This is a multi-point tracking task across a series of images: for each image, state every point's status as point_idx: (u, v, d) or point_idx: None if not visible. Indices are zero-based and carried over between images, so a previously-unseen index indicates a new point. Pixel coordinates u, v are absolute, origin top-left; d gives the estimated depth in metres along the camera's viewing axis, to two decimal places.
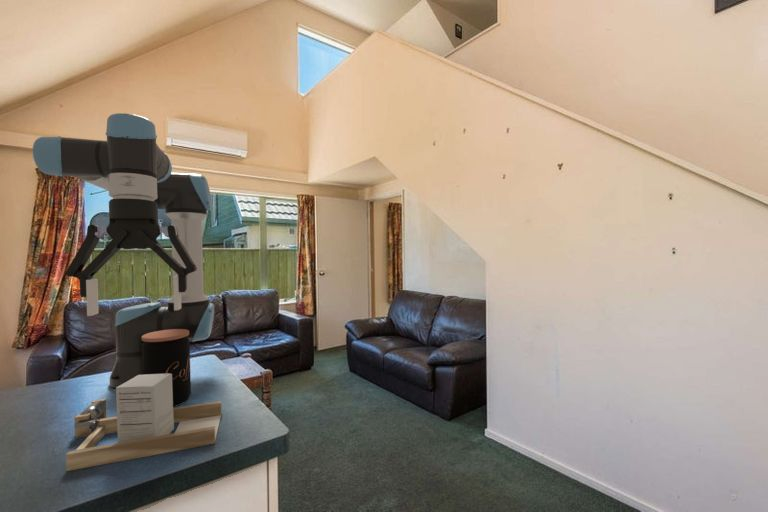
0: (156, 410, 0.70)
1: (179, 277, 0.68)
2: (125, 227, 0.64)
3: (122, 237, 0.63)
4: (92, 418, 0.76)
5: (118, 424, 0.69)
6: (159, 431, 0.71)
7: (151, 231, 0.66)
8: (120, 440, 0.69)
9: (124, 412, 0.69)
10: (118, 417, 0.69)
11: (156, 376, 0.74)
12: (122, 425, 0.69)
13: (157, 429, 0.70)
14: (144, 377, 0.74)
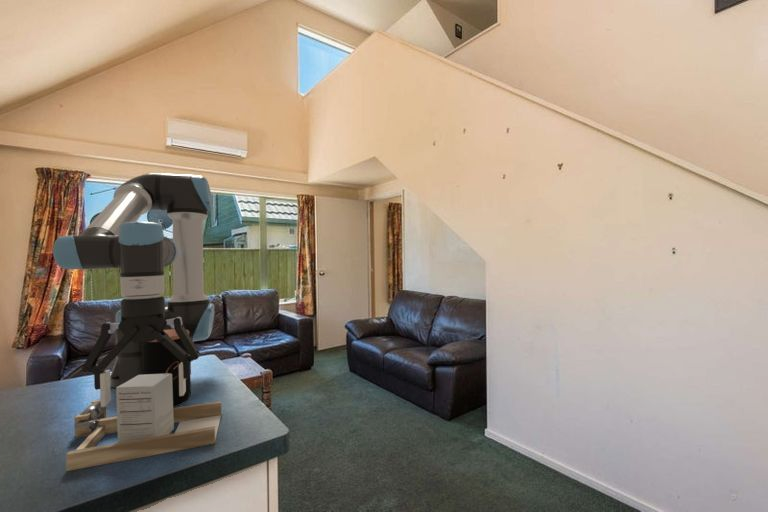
0: (156, 410, 0.70)
1: (184, 365, 0.74)
2: (135, 323, 0.71)
3: (132, 333, 0.70)
4: (92, 418, 0.76)
5: (118, 424, 0.69)
6: (160, 431, 0.71)
7: (159, 325, 0.72)
8: (120, 440, 0.69)
9: (124, 411, 0.69)
10: (118, 417, 0.69)
11: (156, 376, 0.74)
12: (122, 425, 0.69)
13: (157, 429, 0.70)
14: (144, 377, 0.74)
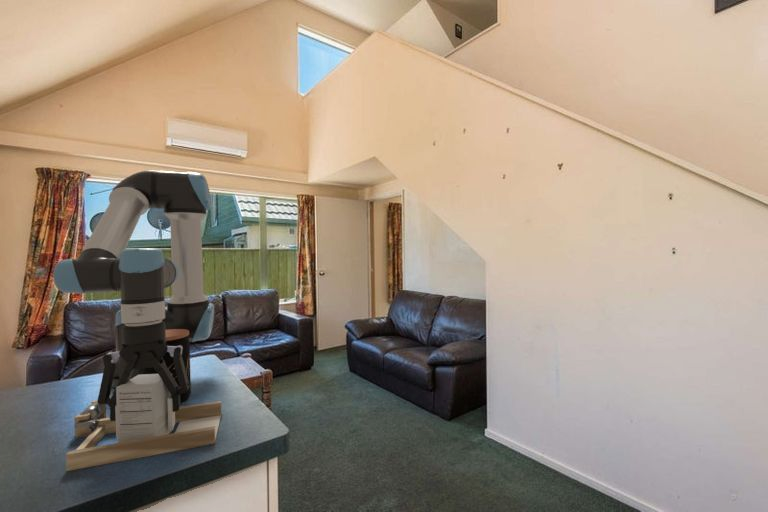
0: (156, 410, 0.70)
1: None
2: (135, 347, 0.71)
3: (135, 360, 0.70)
4: (92, 418, 0.76)
5: (118, 424, 0.69)
6: (160, 431, 0.71)
7: (159, 350, 0.72)
8: (120, 440, 0.69)
9: (124, 411, 0.69)
10: (118, 417, 0.69)
11: (156, 376, 0.74)
12: (122, 425, 0.69)
13: (157, 429, 0.70)
14: (144, 377, 0.74)
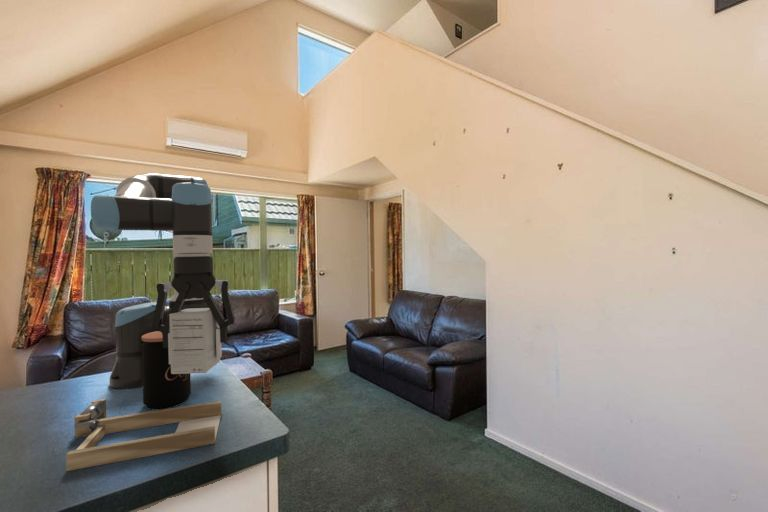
0: (207, 337, 0.73)
1: (220, 329, 0.77)
2: (186, 278, 0.74)
3: (186, 289, 0.73)
4: (92, 418, 0.76)
5: (171, 349, 0.72)
6: (209, 358, 0.74)
7: (208, 282, 0.75)
8: (173, 365, 0.72)
9: (177, 337, 0.72)
10: (171, 343, 0.72)
11: (204, 309, 0.77)
12: (175, 350, 0.72)
13: (207, 356, 0.73)
14: (193, 309, 0.77)
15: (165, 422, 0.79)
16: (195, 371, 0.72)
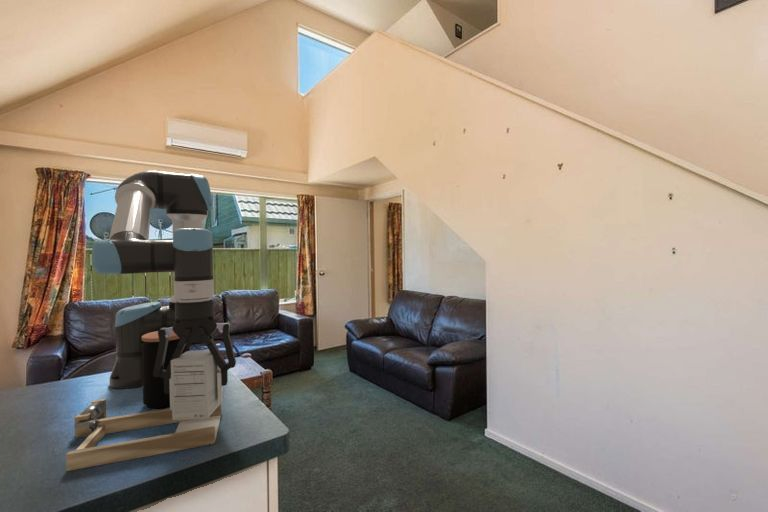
0: (208, 383, 0.73)
1: None
2: (187, 323, 0.74)
3: (187, 335, 0.73)
4: (92, 418, 0.76)
5: (172, 396, 0.72)
6: (211, 403, 0.74)
7: (209, 327, 0.76)
8: (174, 411, 0.72)
9: (179, 384, 0.72)
10: (172, 389, 0.72)
11: (205, 352, 0.77)
12: (176, 397, 0.72)
13: (208, 401, 0.73)
14: (194, 352, 0.77)
15: (165, 422, 0.79)
16: (196, 417, 0.72)
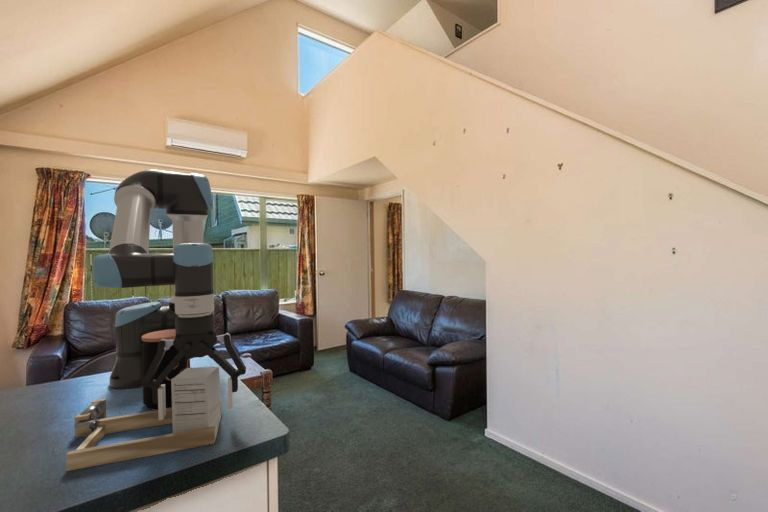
0: (209, 400, 0.73)
1: None
2: (188, 340, 0.74)
3: (187, 350, 0.73)
4: (92, 418, 0.76)
5: (173, 414, 0.72)
6: (211, 421, 0.74)
7: (210, 341, 0.76)
8: (175, 430, 0.72)
9: (179, 402, 0.72)
10: (173, 408, 0.72)
11: (205, 369, 0.77)
12: (177, 415, 0.72)
13: (209, 419, 0.74)
14: (194, 370, 0.77)
15: (165, 422, 0.79)
16: None
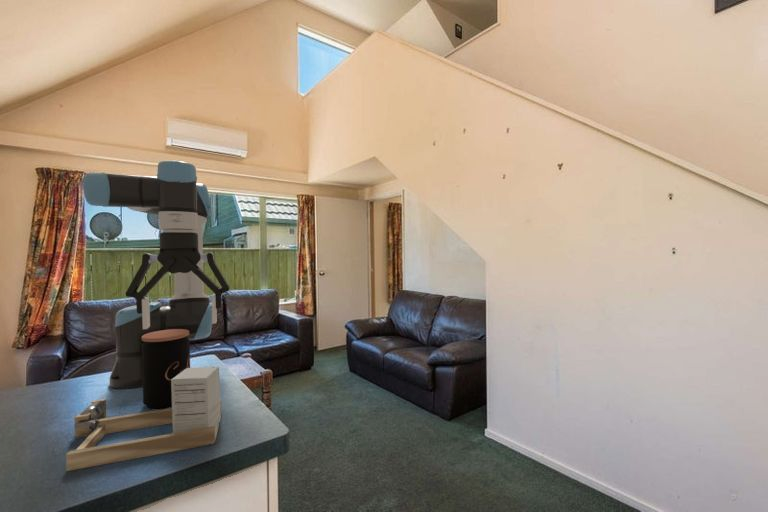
0: (209, 400, 0.73)
1: (216, 296, 0.81)
2: (172, 255, 0.77)
3: (171, 264, 0.76)
4: (92, 418, 0.76)
5: (173, 414, 0.72)
6: (211, 421, 0.74)
7: (193, 258, 0.79)
8: (175, 430, 0.72)
9: (179, 402, 0.72)
10: (173, 408, 0.72)
11: (205, 369, 0.77)
12: (177, 415, 0.72)
13: (209, 419, 0.74)
14: (194, 370, 0.77)
15: (165, 422, 0.79)
16: None
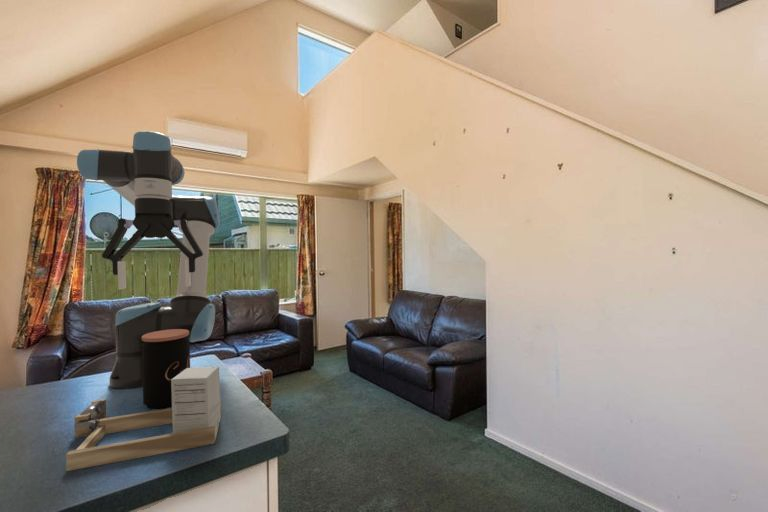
0: (209, 400, 0.73)
1: (189, 260, 0.85)
2: (147, 220, 0.82)
3: (145, 228, 0.81)
4: (92, 418, 0.76)
5: (173, 414, 0.72)
6: (211, 421, 0.74)
7: (167, 223, 0.83)
8: (175, 430, 0.72)
9: (179, 402, 0.72)
10: (173, 408, 0.72)
11: (205, 369, 0.77)
12: (177, 415, 0.72)
13: (209, 419, 0.74)
14: (194, 370, 0.77)
15: (165, 422, 0.79)
16: None
